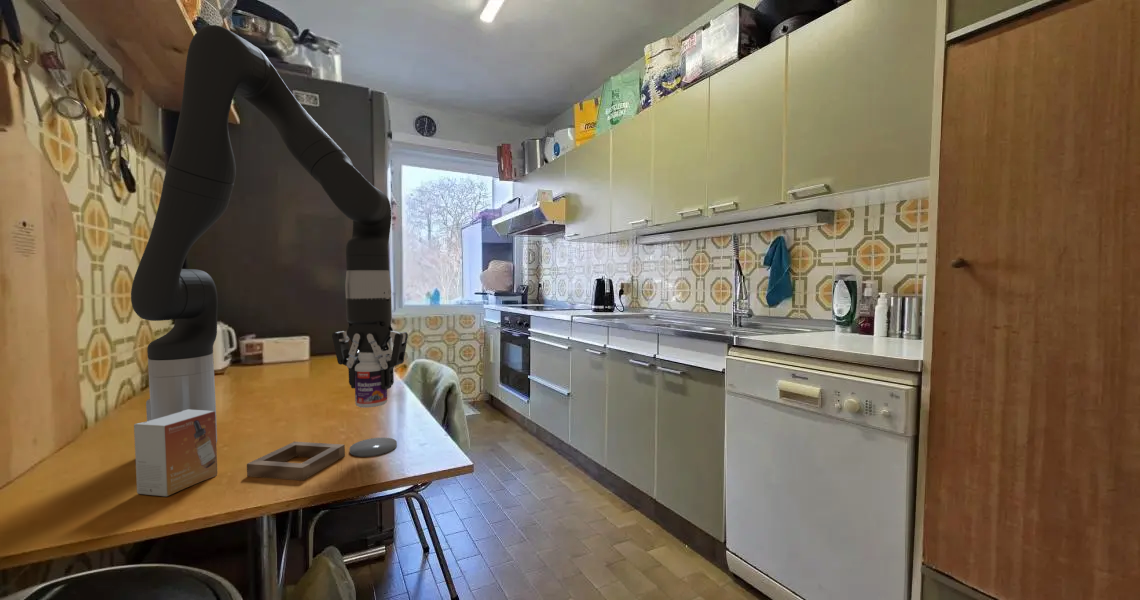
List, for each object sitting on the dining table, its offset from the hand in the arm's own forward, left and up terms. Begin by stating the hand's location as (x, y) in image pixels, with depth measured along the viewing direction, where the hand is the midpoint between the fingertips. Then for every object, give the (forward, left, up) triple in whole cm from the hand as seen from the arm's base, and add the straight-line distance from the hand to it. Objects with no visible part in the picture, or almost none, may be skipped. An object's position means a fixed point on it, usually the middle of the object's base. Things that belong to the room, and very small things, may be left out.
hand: (371, 387), depth 84 cm
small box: (-21, -18, -12) cm, 30 cm away
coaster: (0, 0, -11) cm, 11 cm away
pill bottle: (0, 0, -3) cm, 3 cm away
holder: (-8, -9, -11) cm, 16 cm away
